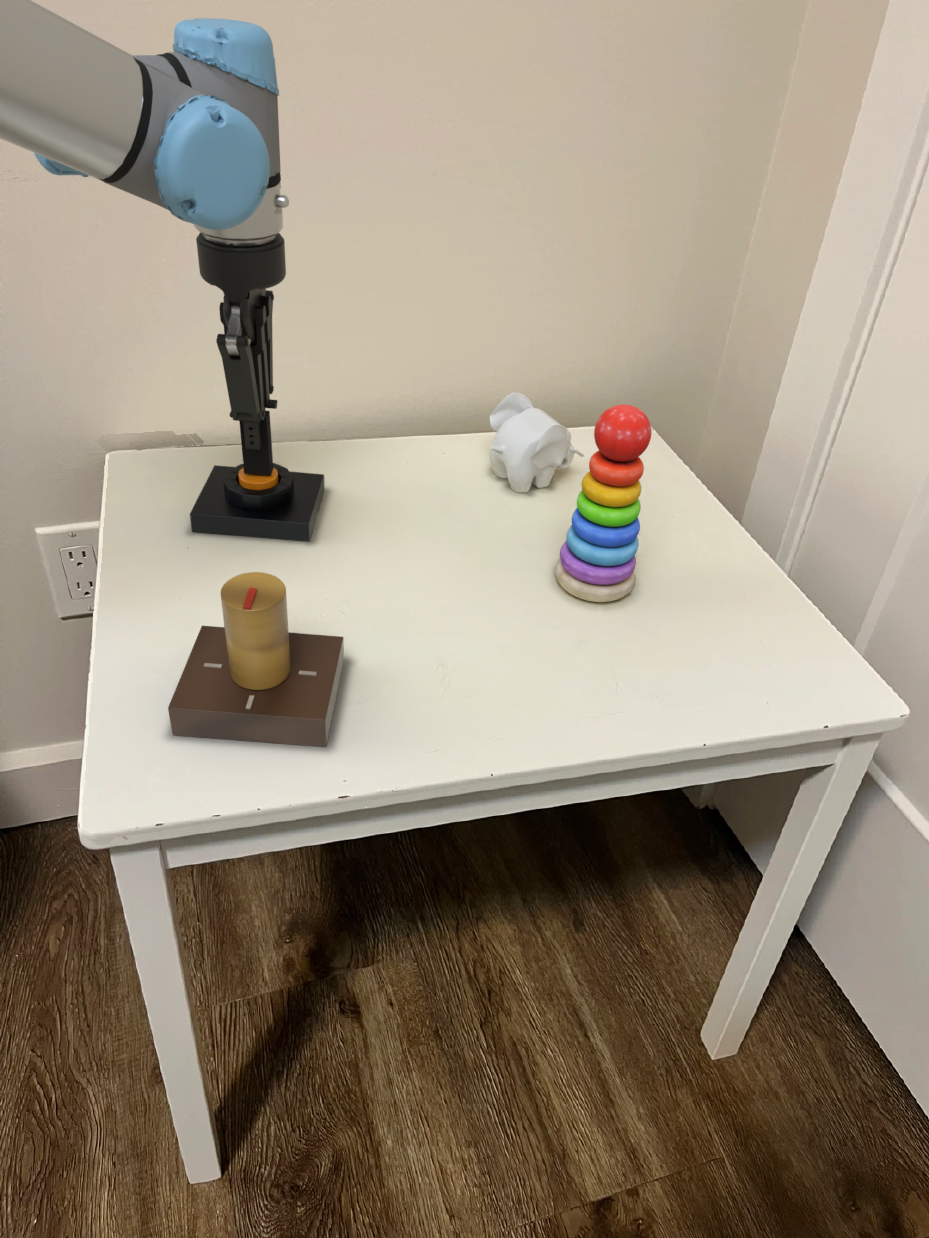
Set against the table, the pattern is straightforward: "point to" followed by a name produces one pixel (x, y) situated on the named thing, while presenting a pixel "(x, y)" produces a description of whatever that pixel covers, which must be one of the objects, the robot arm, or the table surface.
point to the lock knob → (256, 630)
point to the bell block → (259, 505)
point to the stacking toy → (607, 511)
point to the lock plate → (259, 694)
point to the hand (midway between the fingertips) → (258, 470)
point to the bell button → (258, 480)
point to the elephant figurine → (528, 444)
